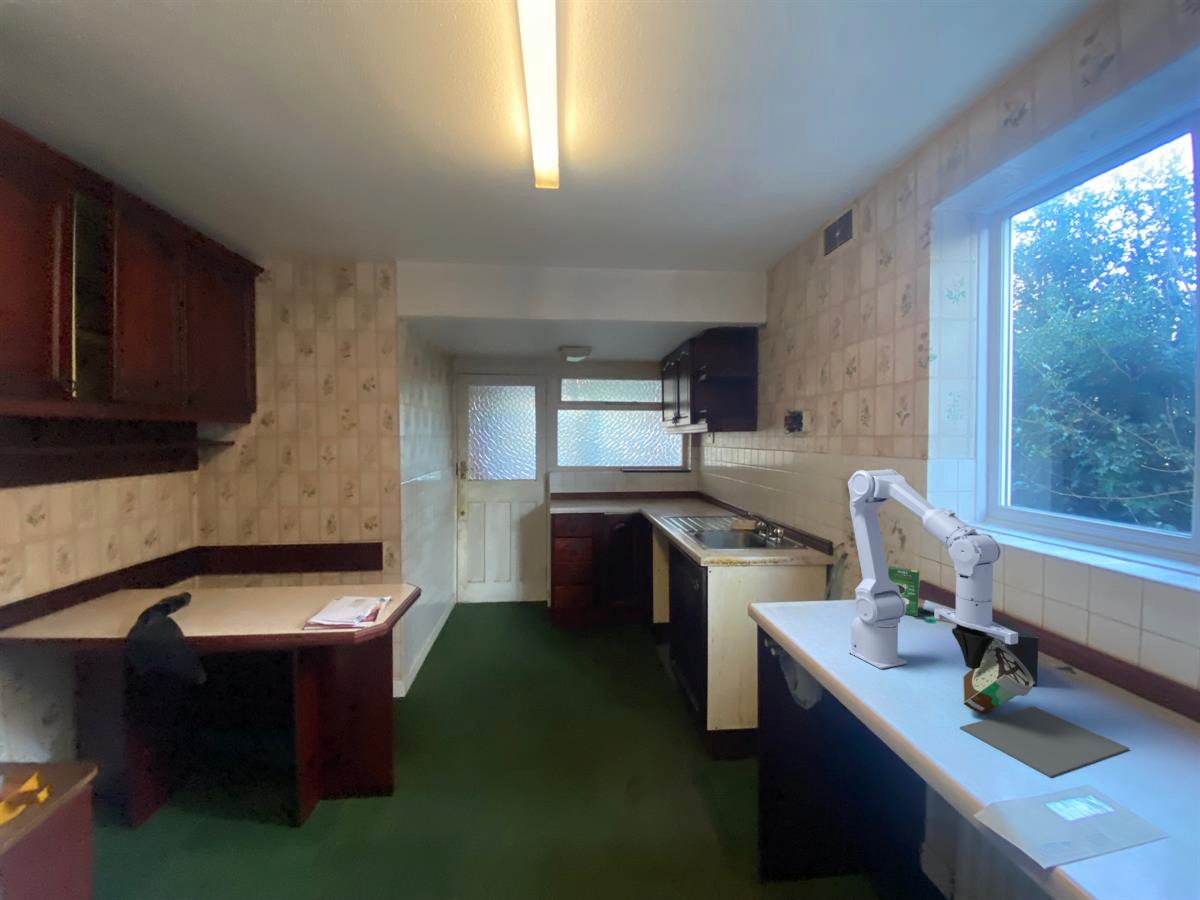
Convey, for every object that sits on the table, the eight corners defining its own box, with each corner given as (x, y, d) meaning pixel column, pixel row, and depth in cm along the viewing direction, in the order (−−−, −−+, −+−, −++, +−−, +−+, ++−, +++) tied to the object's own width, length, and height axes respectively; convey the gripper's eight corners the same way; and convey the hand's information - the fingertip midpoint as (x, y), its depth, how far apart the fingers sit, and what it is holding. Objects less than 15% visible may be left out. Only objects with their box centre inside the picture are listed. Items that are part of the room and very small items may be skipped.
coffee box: (919, 614, 149) (919, 569, 149) (918, 617, 147) (919, 571, 147) (887, 609, 154) (887, 565, 153) (886, 612, 152) (886, 567, 151)
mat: (959, 728, 92) (959, 726, 92) (1034, 707, 99) (1034, 706, 99) (1050, 777, 79) (1050, 775, 79) (1129, 749, 86) (1129, 748, 86)
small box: (1040, 687, 107) (1041, 637, 106) (1004, 684, 108) (1005, 635, 108) (1010, 664, 117) (1011, 618, 117) (978, 662, 118) (979, 617, 118)
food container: (997, 734, 93) (1041, 702, 88) (963, 708, 95) (1004, 676, 91) (992, 695, 103) (1032, 665, 98) (962, 672, 105) (999, 642, 101)
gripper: (1029, 606, 94) (1028, 680, 94) (951, 584, 107) (951, 649, 108) (1003, 611, 91) (1002, 686, 92) (927, 588, 105) (926, 654, 106)
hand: (972, 667), depth 100 cm, fingers closed
